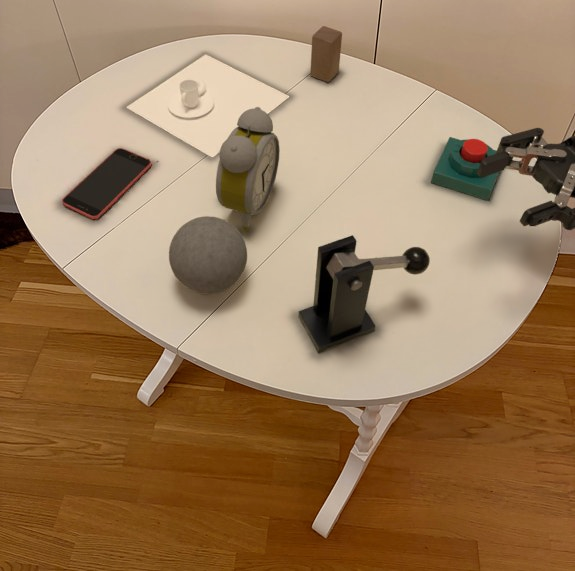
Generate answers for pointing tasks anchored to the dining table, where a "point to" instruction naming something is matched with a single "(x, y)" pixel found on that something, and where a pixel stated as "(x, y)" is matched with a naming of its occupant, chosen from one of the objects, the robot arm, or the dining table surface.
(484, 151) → the button
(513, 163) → the robot arm
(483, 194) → the button block
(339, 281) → the bracket
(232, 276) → the decorative ball
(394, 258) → the lever
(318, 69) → the wooden block
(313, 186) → the dining table surface
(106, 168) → the smartphone
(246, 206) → the alarm clock
